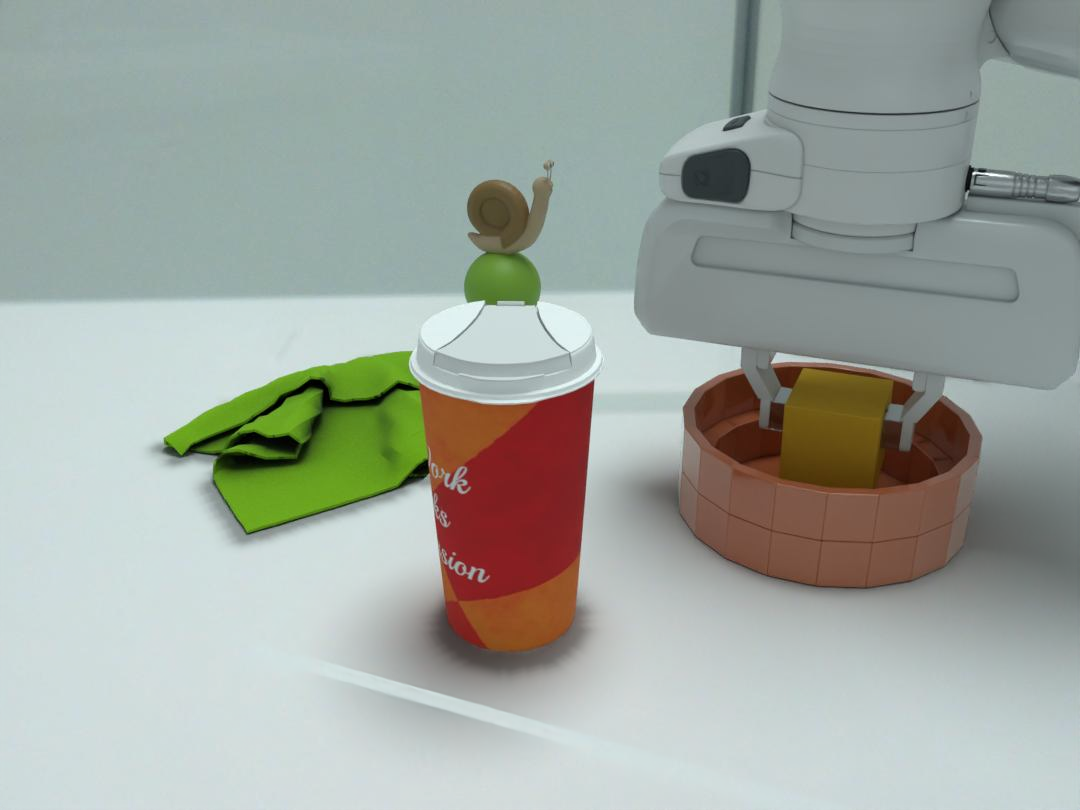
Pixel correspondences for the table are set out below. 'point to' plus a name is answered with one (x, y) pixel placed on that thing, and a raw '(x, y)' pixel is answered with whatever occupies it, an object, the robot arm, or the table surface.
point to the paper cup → (508, 464)
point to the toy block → (834, 429)
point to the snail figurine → (505, 241)
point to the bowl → (824, 490)
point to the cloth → (314, 439)
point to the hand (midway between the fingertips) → (834, 435)
